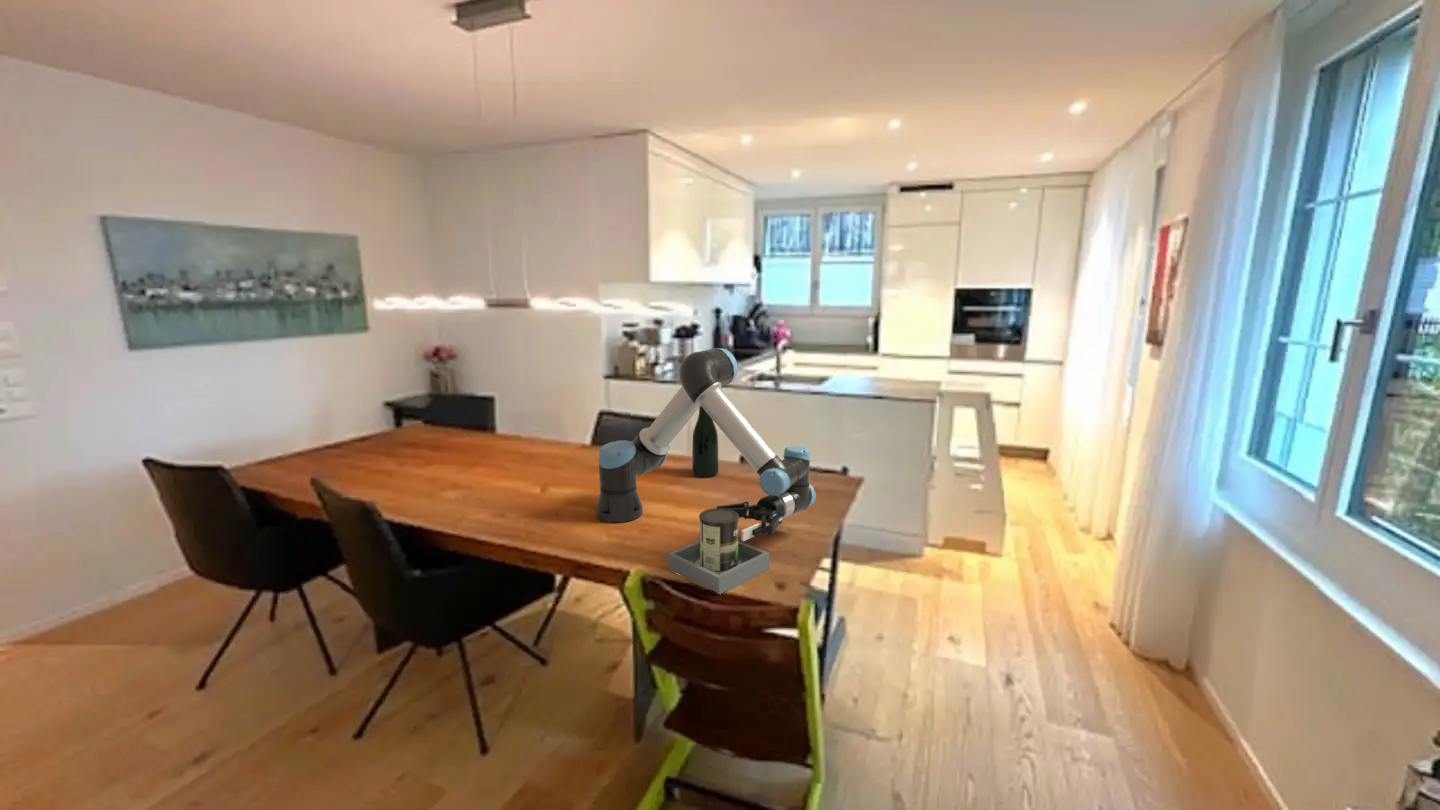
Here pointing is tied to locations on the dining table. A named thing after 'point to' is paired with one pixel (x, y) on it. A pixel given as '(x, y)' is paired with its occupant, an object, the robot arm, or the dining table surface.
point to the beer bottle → (705, 446)
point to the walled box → (689, 567)
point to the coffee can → (719, 539)
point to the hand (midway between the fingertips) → (723, 528)
